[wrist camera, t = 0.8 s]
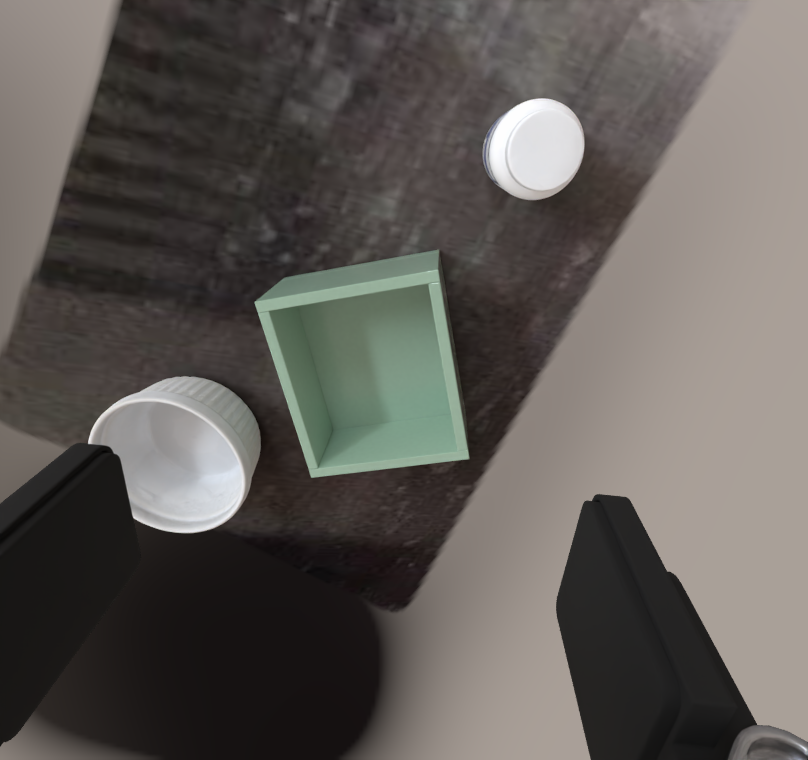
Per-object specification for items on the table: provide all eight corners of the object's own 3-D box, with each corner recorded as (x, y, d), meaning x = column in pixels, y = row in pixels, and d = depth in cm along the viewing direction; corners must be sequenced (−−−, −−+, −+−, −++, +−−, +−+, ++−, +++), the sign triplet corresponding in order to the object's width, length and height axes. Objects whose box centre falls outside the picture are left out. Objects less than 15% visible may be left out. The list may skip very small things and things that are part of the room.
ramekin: (134, 346, 44) (82, 380, 37) (281, 382, 44) (254, 421, 38) (134, 467, 49) (89, 514, 43) (265, 498, 50) (239, 549, 43)
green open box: (284, 277, 40) (254, 302, 34) (439, 249, 38) (438, 269, 32) (329, 432, 46) (311, 478, 40) (465, 414, 44) (469, 459, 38)
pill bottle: (576, 136, 34) (622, 133, 26) (527, 206, 36) (554, 225, 28) (512, 89, 33) (537, 69, 25) (466, 164, 36) (474, 169, 27)
